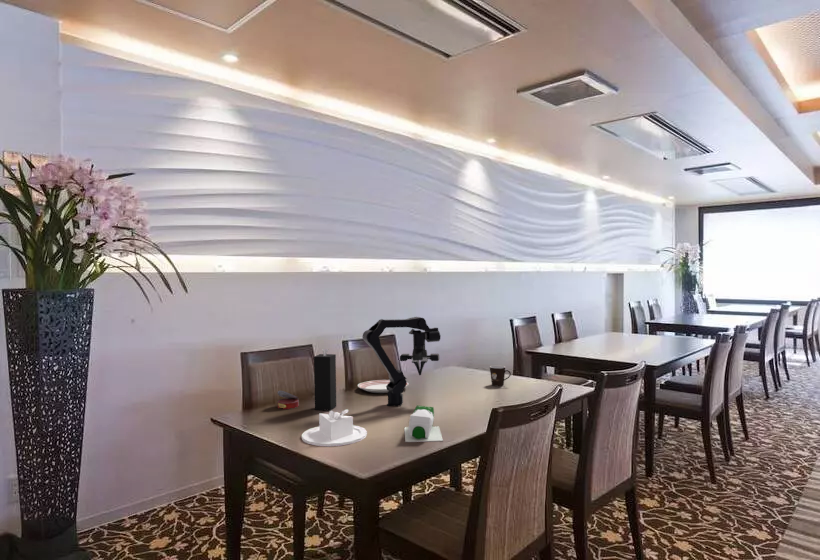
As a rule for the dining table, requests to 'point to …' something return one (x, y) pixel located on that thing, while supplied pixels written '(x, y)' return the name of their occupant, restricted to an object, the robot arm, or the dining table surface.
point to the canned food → (287, 400)
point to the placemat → (434, 436)
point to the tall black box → (325, 381)
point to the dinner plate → (376, 386)
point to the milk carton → (421, 422)
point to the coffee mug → (498, 375)
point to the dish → (334, 430)
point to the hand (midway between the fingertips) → (420, 375)
